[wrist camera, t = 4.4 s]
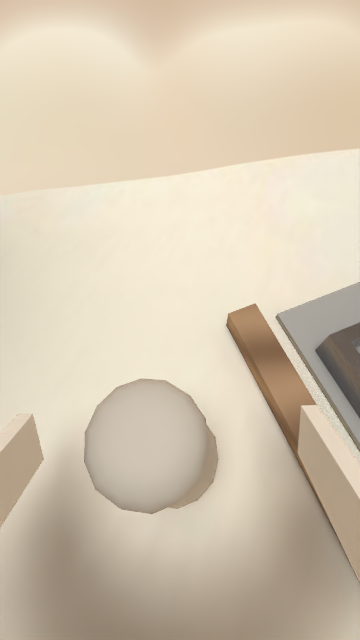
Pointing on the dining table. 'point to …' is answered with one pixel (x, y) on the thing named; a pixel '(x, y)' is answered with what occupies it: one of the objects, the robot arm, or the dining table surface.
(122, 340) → the dining table surface
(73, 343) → the dining table surface
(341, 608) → the dining table surface
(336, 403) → the keeper plate
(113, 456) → the salt shaker
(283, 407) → the door-edge bar
